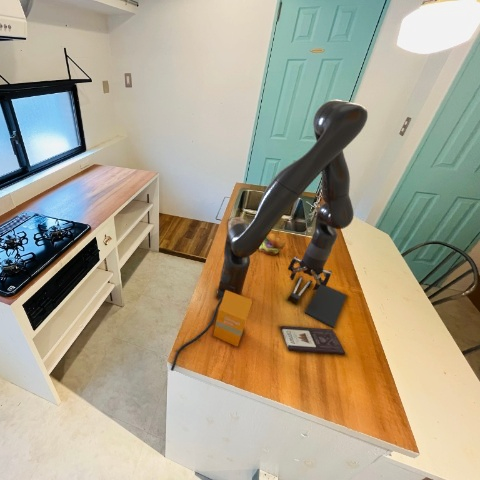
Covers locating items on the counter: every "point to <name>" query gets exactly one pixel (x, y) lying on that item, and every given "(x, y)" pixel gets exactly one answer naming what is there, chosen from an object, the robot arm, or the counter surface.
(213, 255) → the counter surface
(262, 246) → the cheeseburger
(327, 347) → the chocolate bar
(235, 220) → the fish fossil
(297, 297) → the tongs
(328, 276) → the robot arm
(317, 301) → the mat
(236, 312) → the orange juice
